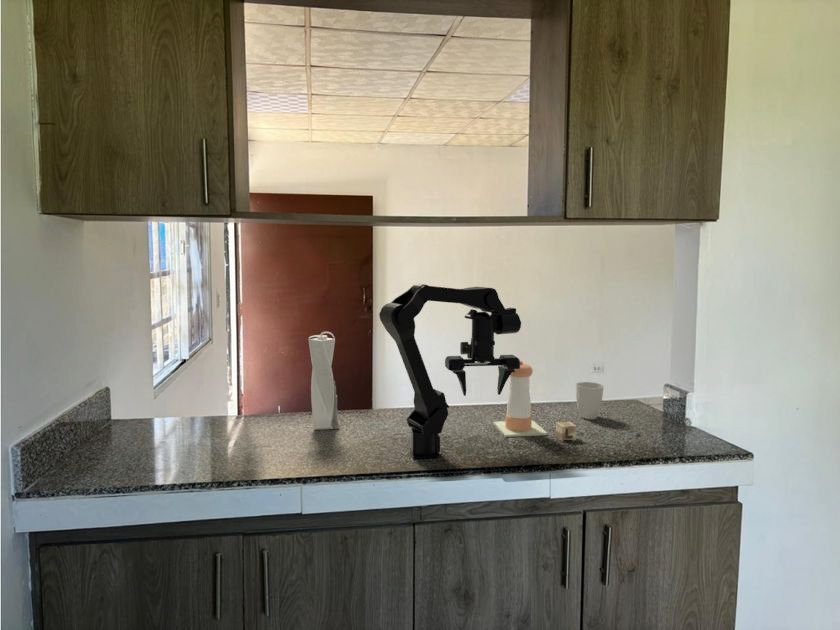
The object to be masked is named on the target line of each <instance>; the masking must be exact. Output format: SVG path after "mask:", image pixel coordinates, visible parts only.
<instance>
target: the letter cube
mask: <svg viewBox="0 0 840 630" xmlns="http://www.w3.org/2000/svg"><path fill="white" fill-rule="evenodd" d="M557 437H558V440H560V441H561V440H562V441H561V442H565V441H564V440H573V441H577V425H576V424H575V423H573V422H571V421H560V422H559V421H557V422H556V423H555V438H557Z"/></svg>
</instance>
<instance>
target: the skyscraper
mask: <svg viewBox="0 0 840 630" xmlns="http://www.w3.org/2000/svg"><path fill="white" fill-rule="evenodd" d="M325 334H326V335H325ZM327 334H328V335H331V336H332V338H331V337H328V335H327ZM335 343H336V338H335V336H334V333H332V332H330V331H322V332H321V333H320V334H315V335H311V336H309V337H308V347H309V353H310V360H311V365H312V366H311V367H312V370H311V378H310V379H311V381H310V399H311V413H312V414H311V416H312V423H313V424H312V425H313V431H314V430H320V431H329V430H328V429H338V430H340V426H339V425H340V424H339V421H338V417H339V414H338V413H339V411H338V395H337V386H336V381H335V380H334V374H333V368H332V365H333V359H334V352H335V345H336V344H335Z"/></svg>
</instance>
